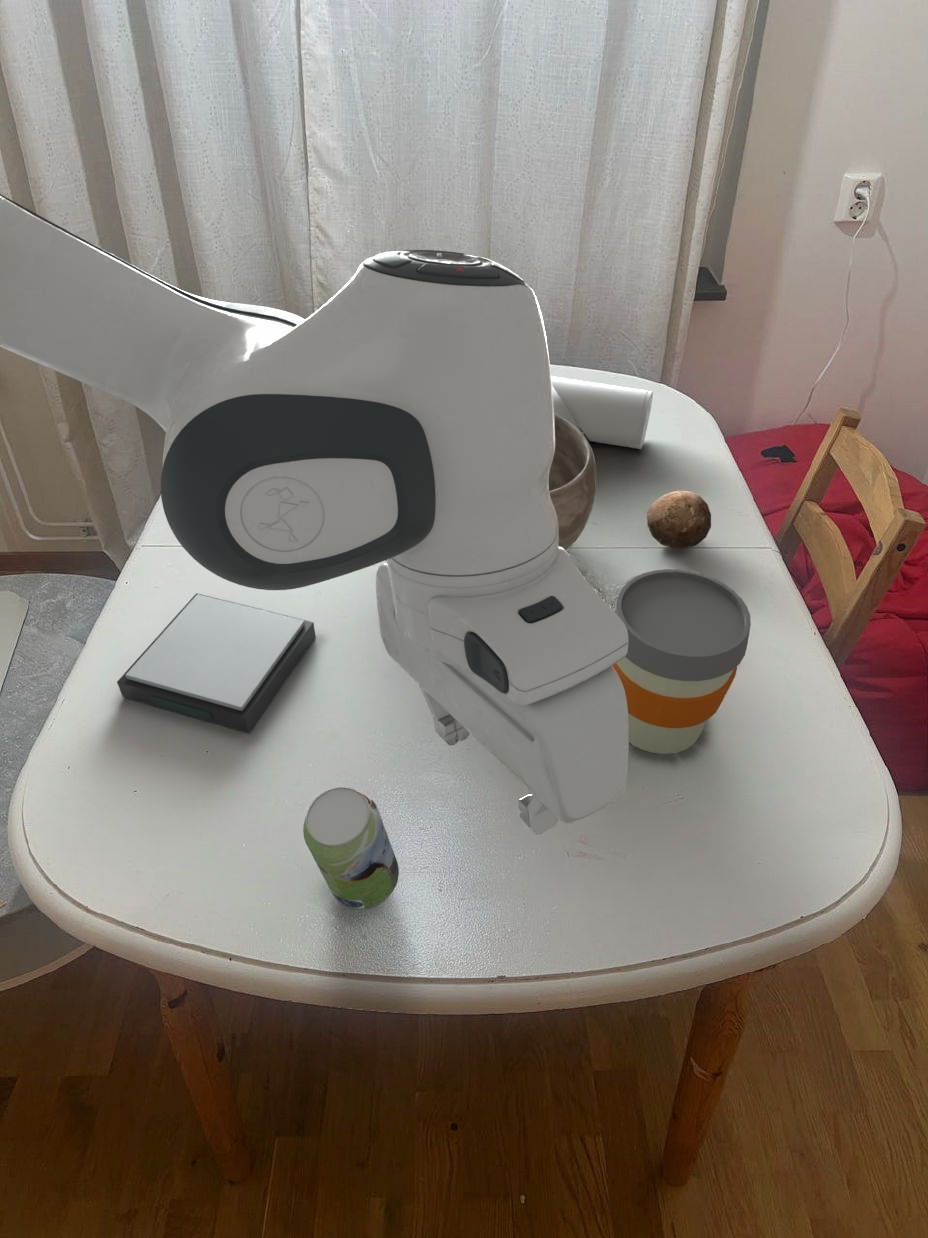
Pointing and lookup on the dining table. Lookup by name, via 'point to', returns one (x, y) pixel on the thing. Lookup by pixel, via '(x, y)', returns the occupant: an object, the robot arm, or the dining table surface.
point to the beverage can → (351, 847)
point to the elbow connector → (604, 410)
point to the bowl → (571, 481)
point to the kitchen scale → (219, 662)
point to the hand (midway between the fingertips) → (493, 776)
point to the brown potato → (679, 519)
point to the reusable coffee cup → (678, 654)
